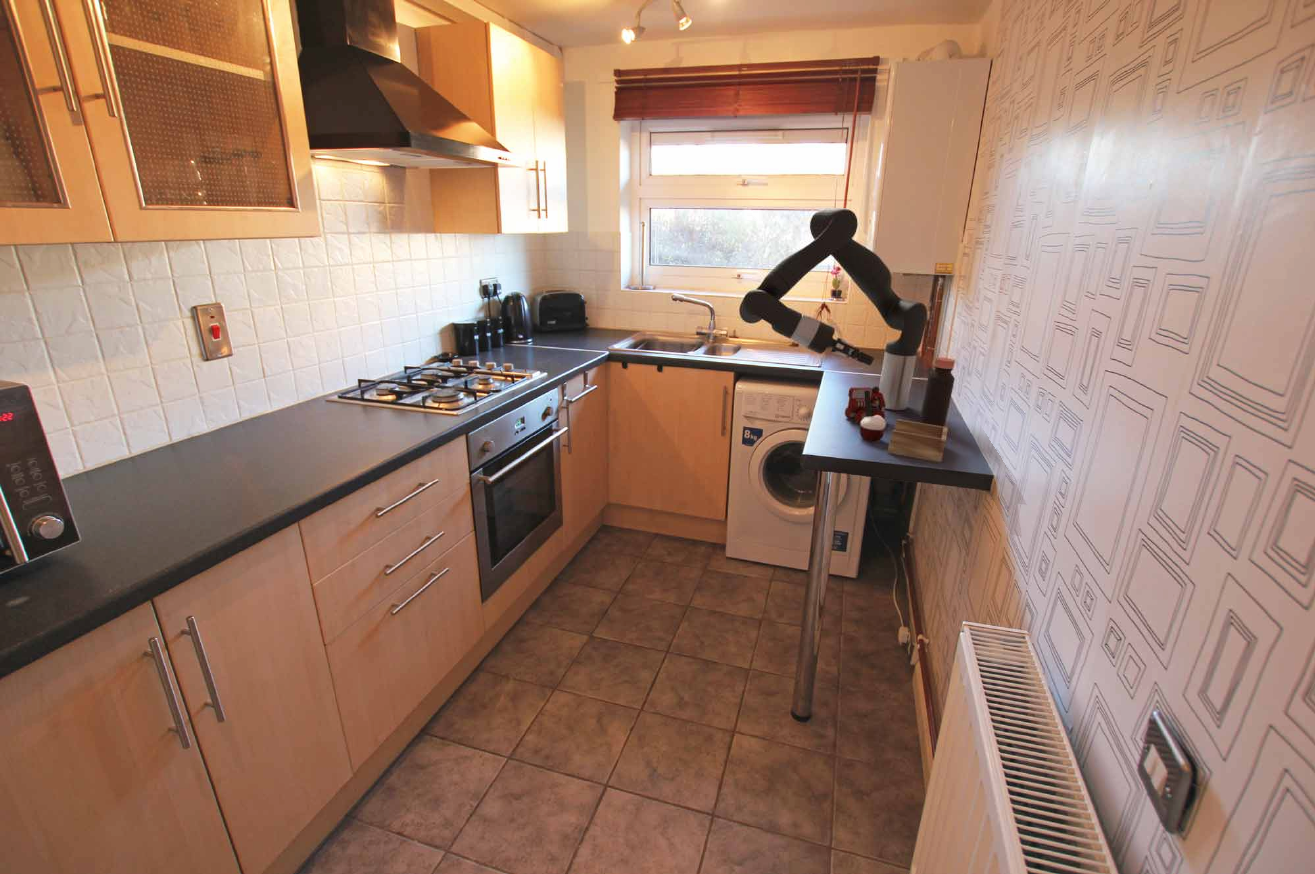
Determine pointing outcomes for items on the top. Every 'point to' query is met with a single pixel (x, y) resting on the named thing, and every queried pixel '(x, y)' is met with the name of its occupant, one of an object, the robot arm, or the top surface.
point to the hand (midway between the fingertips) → (868, 360)
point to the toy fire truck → (858, 403)
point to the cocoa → (871, 423)
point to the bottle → (938, 393)
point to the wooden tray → (918, 440)
